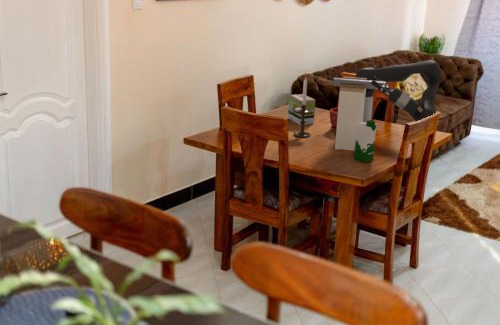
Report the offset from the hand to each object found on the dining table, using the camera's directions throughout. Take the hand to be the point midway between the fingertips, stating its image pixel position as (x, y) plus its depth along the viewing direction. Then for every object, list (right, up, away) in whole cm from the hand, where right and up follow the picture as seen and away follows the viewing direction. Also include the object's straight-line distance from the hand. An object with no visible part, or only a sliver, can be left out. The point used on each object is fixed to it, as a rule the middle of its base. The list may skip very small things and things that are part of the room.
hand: (372, 79), depth 341 cm
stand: (-9, -31, +19) cm, 38 cm away
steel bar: (-6, -3, +3) cm, 8 cm away
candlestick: (-33, -27, +31) cm, 52 cm away
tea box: (-32, -17, +58) cm, 69 cm away
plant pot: (-10, -23, +43) cm, 50 cm away
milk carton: (-6, -40, -6) cm, 41 cm away
